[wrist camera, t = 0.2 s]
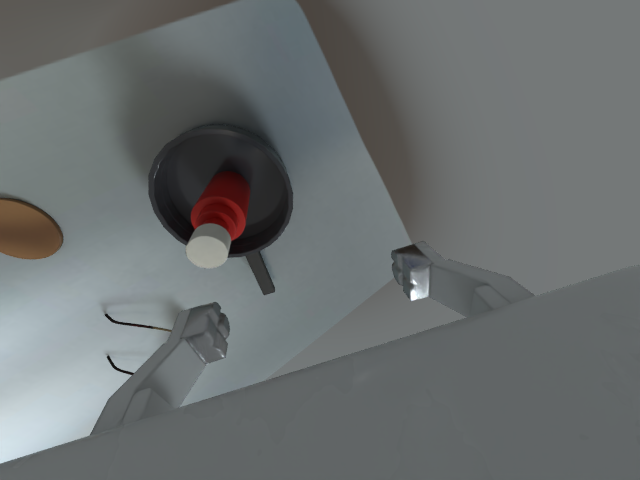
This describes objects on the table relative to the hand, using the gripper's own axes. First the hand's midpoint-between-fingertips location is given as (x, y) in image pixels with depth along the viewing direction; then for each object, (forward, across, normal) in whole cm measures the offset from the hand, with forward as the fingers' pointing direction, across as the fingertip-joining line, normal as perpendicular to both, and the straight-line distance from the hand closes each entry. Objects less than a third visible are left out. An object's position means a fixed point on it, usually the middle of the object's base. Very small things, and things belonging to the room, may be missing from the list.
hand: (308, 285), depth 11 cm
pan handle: (+25, +8, +16) cm, 31 cm away
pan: (+28, +8, +3) cm, 29 cm away
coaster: (+28, +36, +1) cm, 45 cm away
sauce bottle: (+27, +8, +3) cm, 28 cm away
